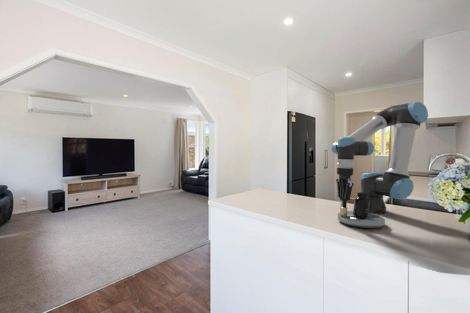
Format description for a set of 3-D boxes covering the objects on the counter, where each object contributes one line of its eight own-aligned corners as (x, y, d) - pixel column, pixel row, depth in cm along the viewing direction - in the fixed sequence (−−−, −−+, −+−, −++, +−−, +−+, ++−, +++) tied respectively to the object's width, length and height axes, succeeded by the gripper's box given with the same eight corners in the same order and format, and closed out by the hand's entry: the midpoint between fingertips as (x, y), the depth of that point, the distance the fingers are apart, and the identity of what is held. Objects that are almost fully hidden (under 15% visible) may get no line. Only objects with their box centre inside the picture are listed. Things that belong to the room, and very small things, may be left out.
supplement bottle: (369, 219, 110) (372, 195, 109) (354, 216, 112) (356, 193, 111) (366, 215, 116) (368, 192, 116) (351, 213, 118) (354, 191, 118)
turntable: (367, 214, 125) (368, 201, 124) (395, 227, 104) (396, 213, 103) (330, 214, 124) (330, 202, 124) (351, 228, 103) (351, 213, 103)
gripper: (332, 165, 120) (330, 208, 122) (344, 168, 108) (342, 216, 109) (345, 166, 121) (343, 208, 122) (359, 168, 108) (357, 216, 110)
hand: (343, 212), depth 116 cm, fingers closed
